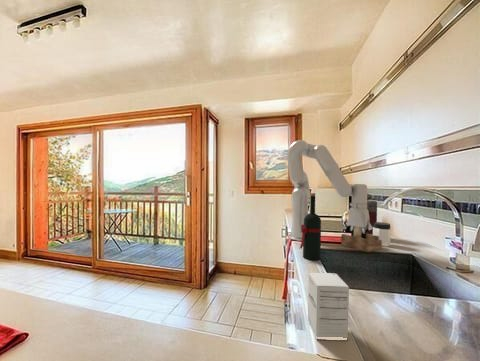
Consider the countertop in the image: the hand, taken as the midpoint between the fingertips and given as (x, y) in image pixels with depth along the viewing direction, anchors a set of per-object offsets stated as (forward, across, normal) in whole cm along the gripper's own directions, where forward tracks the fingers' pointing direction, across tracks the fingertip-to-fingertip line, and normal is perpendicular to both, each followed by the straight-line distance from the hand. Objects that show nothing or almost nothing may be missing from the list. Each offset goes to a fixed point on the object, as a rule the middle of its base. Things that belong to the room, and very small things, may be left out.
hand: (358, 238), depth 128 cm
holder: (+4, +2, 0) cm, 4 cm away
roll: (+2, 0, 0) cm, 2 cm away
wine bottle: (+4, -2, -40) cm, 40 cm away
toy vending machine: (+4, -8, +23) cm, 25 cm away
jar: (+4, +6, +14) cm, 16 cm away
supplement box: (+4, +32, -79) cm, 86 cm away
